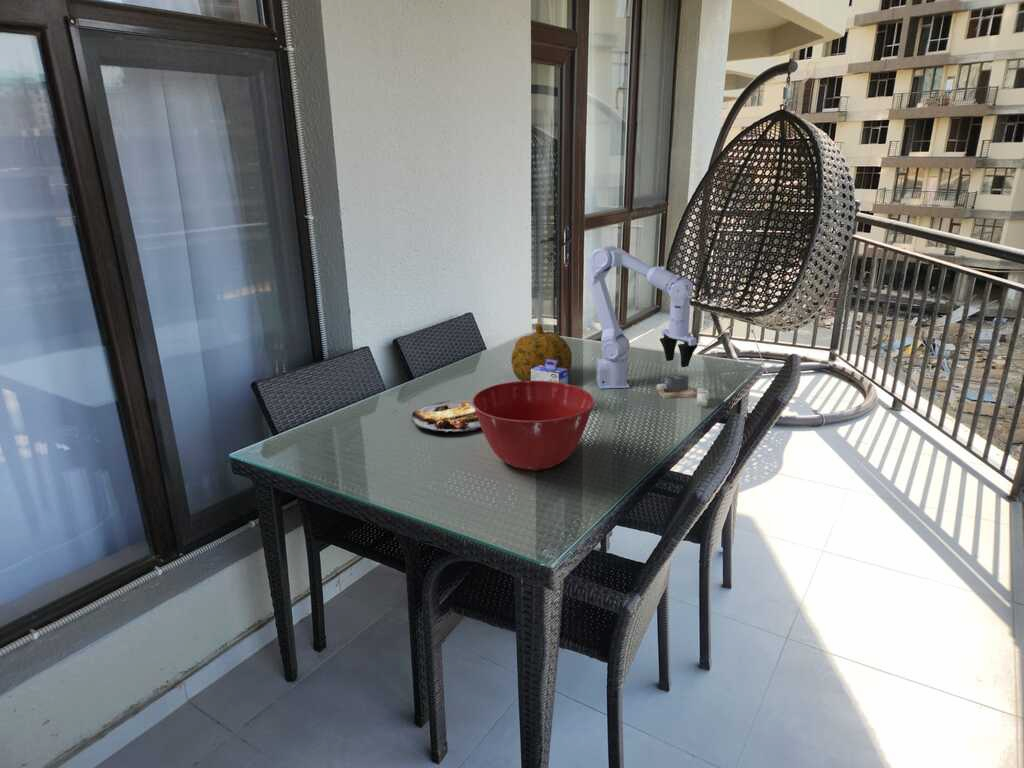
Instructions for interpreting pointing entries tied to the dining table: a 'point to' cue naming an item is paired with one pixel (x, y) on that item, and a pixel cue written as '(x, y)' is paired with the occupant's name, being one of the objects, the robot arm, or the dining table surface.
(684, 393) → the cork pad
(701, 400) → the offwhite plug
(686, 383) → the charcoal plug
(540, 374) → the ink cartridge box
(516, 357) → the decorative pumpkin
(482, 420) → the mixing bowl
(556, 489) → the dining table surface
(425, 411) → the food plate
